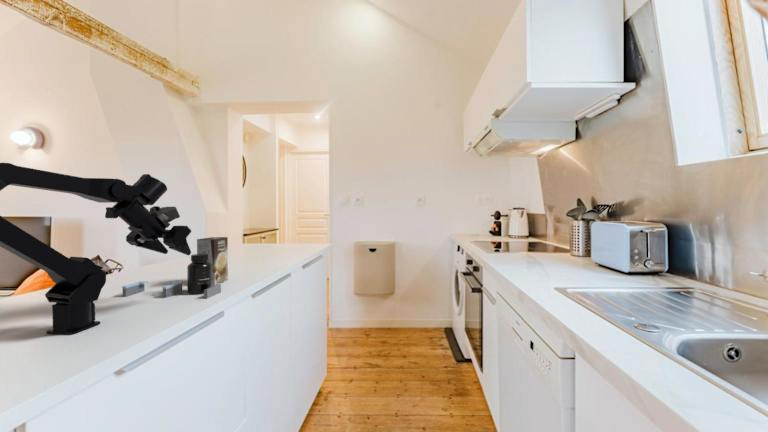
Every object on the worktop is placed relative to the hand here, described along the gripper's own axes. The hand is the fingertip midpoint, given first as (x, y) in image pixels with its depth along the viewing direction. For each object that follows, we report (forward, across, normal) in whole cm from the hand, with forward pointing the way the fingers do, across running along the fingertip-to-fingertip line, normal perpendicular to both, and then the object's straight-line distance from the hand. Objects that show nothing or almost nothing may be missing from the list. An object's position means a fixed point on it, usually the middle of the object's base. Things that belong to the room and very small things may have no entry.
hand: (178, 253), depth 97 cm
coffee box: (+23, +6, -3) cm, 24 cm away
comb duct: (+11, +5, +8) cm, 15 cm away
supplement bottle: (+15, 0, +4) cm, 15 cm away
